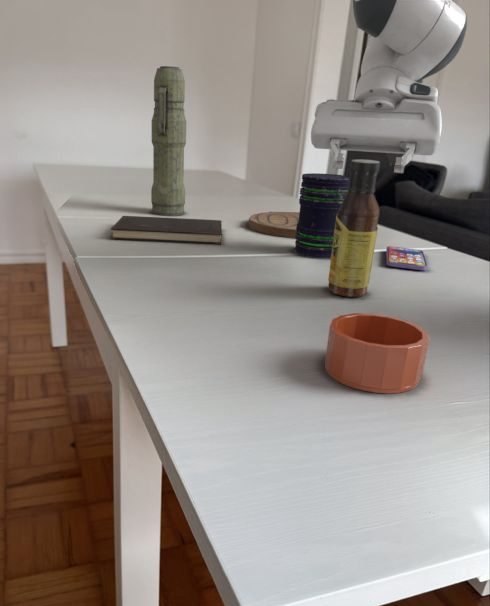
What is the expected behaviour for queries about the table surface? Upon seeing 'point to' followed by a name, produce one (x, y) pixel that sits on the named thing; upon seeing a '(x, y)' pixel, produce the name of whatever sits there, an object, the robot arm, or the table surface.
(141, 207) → the table surface
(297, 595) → the table surface
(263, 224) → the trivet
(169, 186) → the thermos
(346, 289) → the sauce bottle
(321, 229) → the storage jar
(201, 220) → the hardcover book
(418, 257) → the smartphone
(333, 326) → the faceted bowl
